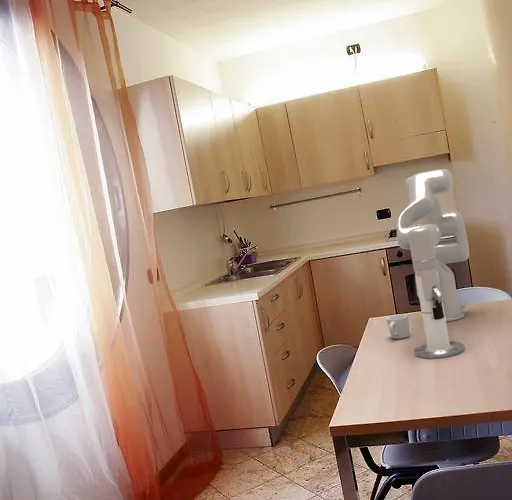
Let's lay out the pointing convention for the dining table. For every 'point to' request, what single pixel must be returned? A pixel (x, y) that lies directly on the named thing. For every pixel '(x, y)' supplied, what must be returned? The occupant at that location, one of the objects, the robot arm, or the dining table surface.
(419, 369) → the dining table surface
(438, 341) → the cylindrical container
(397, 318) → the cup
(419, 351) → the flange plate
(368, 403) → the dining table surface
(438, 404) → the dining table surface
